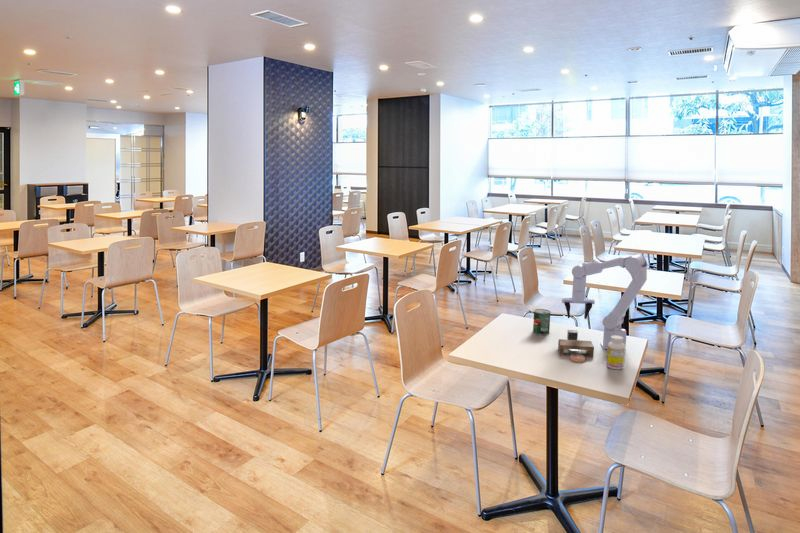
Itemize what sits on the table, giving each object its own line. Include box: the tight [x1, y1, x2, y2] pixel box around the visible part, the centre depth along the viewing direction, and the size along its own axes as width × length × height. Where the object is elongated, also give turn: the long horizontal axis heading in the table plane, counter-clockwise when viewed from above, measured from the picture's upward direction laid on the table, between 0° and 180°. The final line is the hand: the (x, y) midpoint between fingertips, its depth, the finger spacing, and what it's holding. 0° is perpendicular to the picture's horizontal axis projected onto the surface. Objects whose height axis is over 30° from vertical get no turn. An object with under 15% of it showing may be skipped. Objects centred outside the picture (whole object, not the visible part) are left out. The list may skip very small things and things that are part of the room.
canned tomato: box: [532, 308, 552, 336], centre depth 269 cm, size 8×8×11 cm
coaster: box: [569, 354, 586, 363], centre depth 233 cm, size 6×6×2 cm
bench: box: [557, 338, 595, 358], centre depth 241 cm, size 14×8×5 cm, turn 79°
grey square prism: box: [566, 329, 583, 356], centre depth 247 cm, size 5×17×6 cm, turn 170°
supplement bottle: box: [606, 335, 626, 370], centre depth 224 cm, size 7×7×13 cm
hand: (576, 318), depth 258 cm, fingers open, 7 cm apart
